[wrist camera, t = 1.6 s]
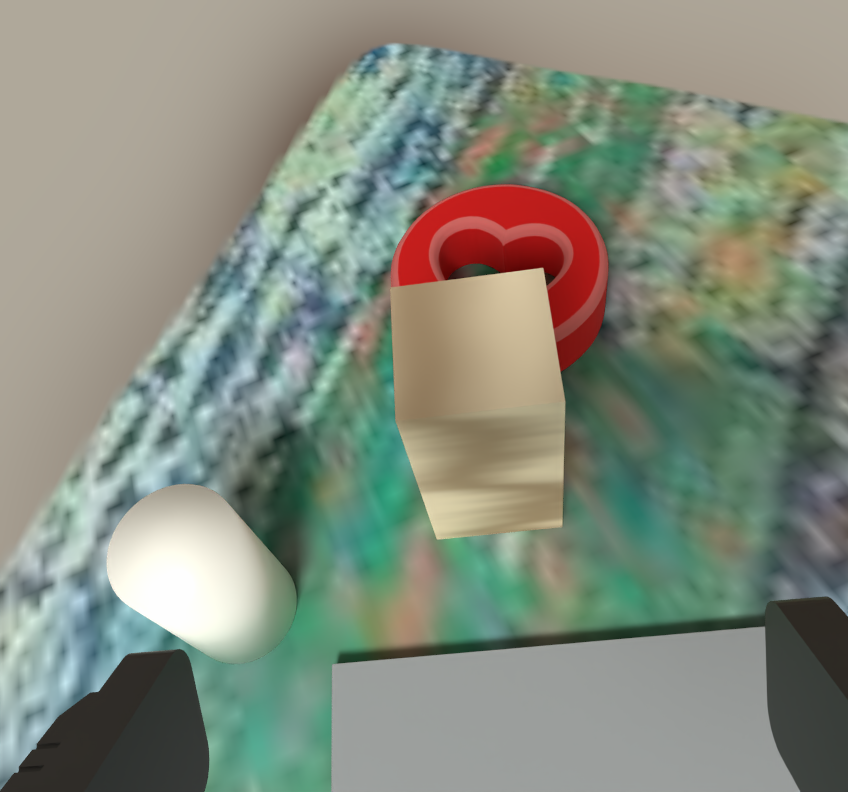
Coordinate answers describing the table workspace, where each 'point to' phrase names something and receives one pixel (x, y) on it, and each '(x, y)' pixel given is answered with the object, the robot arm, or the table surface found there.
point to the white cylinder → (201, 574)
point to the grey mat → (562, 719)
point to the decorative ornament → (515, 252)
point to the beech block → (481, 401)
